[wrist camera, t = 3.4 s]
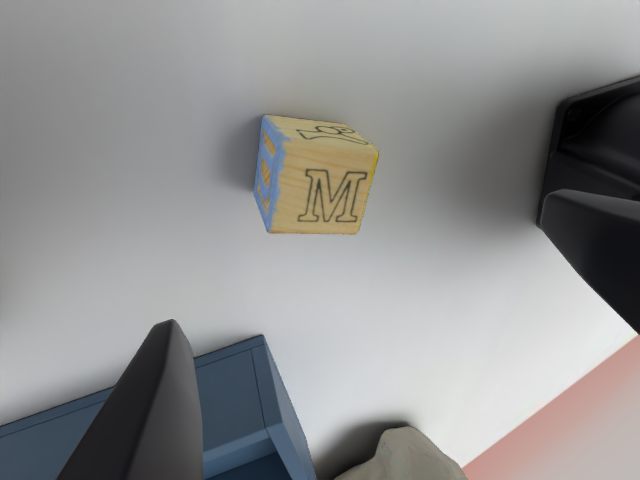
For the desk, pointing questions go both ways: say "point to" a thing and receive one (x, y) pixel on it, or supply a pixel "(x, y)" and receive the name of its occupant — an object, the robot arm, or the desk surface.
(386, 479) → the ceramic sculpture
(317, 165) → the alphabet block
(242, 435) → the blue open box
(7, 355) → the desk surface
